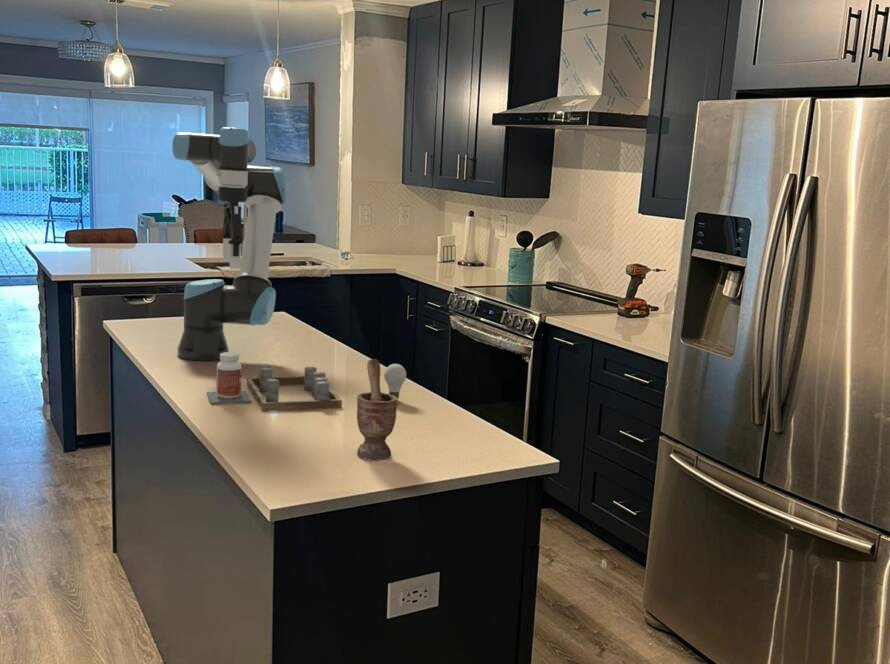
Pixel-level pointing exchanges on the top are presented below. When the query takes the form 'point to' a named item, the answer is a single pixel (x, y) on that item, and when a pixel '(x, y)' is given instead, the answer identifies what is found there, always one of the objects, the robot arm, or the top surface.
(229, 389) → the pill bottle
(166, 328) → the top surface
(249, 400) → the mat
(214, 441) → the top surface
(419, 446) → the top surface
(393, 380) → the light bulb
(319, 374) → the tray
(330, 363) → the top surface
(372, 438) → the mortar and pestle
